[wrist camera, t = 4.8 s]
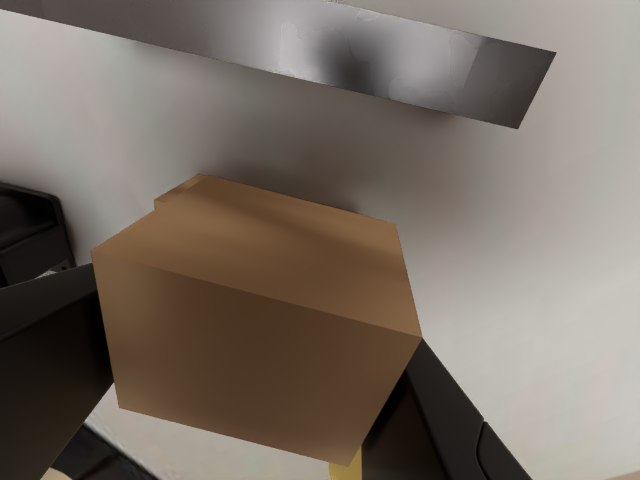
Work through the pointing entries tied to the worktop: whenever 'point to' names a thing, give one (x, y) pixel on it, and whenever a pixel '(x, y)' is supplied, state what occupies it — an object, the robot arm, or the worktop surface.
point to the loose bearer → (258, 317)
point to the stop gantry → (328, 48)
